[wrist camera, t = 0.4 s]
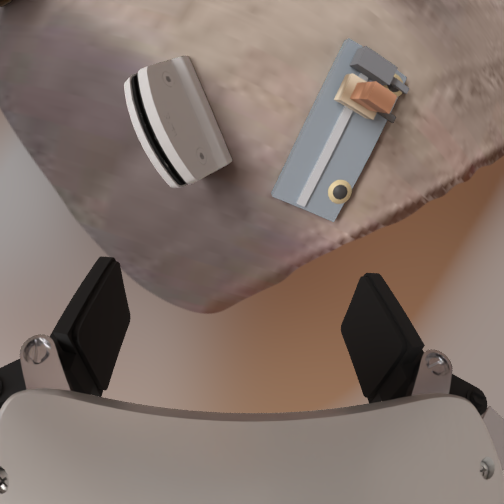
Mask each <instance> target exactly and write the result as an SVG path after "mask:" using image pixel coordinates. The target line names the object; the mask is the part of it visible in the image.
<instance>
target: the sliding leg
mask: <svg viewBox="0 0 504 504" xmlns="http://www.w3.org/2000/svg"><path fill="white" fill-rule="evenodd" d="M396 99H397V96H396V95H395V94H394V93H392V92H391V91H389V90H388V89H387V88H385V87H384V86H382V85H381V84H379V83H378V82H376V81H374V82H366V81H365V80H363V79H361V78H360V77H358V76H357V75H355V74H353V73H352V74H346V75H345V77H344V79H343V81H342V83H341V86H340V88H339V90H338V92H337V94H336V96H335V98H334V100H335V101H337V102H339V103H341V104H342V105H344V106H346V107H348V108H349V109H351V110H353V111H354V112H356V113H358V114H359V115H361V116H363V117H364V118H367V119H372V120H374V117H375V115H376V113H377V114H379V115H380V116H382V117H383V118H385V119H386V120H388V121H389V122H391V123H394V121H395V118H396V117H395V116H394V115H393V114H391V113H390V112H391V109H392V107H393V105H394V103H395V101H396Z"/></svg>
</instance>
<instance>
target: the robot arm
mask: <svg viewBox="0 0 504 504" xmlns="http://www.w3.org/2000/svg"><path fill="white" fill-rule="evenodd" d="M129 322H130V311H129V307H128V303H127V298H126V293H125V289H124V284H123V279H122V274H121V268H120V263H119V262H116V260H115V258H112V257H100V258H99V259H98V260H97V261H96V263H95V264H94V266H93V267H92V269H91V270H90V272H89V273H88V275H87V276H86V278H85V279H84V281H83V282H82V284H81V285H80V287H79V288H78V290H77V291H76V293H75V295H74V296H73V298H72V299H71V301H70V303H69V305H68V306H67V308H66V309H65V311H64V313H63V314H62V316H61V318H60V319H59V321H58V323H57V325H56V326H55V328H54V330H53V332H52V334H51V335H50V337H49V336H46V335H35V336H33V337H31V338H29V339H28V340H27V341H26V342H25V343H24V344H23V346H22V347H21V350H20V359H18V360H16V361H14V362H12V363H10V364H8V365H6V366H4V367H1V368H0V504H504V474H503V469H504V419H503V418H502V417H501V416H500V415H499V414H498V413H497V412H496V411H495V410H494V409H492V408H491V406H489V407H488V408H487V400H486V397H485V395H484V393H483V392H482V391H481V390H480V389H478V388H477V387H475V386H473V385H471V384H470V383H468V382H466V381H464V380H462V379H460V378H459V377H457V376H455V375H453V374H452V364H451V362H450V360H449V359H448V357H447V356H446V355H445V354H443V353H442V352H440V351H437V350H427V351H426V352H423V350H422V349H423V347H424V344H423V342H422V340H421V338H420V337H419V335H418V333H417V332H416V330H415V328H414V327H413V325H412V323H411V321H410V320H409V318H408V317H407V315H406V313H405V312H404V310H403V308H402V307H401V305H400V304H399V302H398V301H397V299H396V298H395V296H394V294H393V293H392V291H391V290H390V288H389V287H388V285H387V284H386V282H385V281H384V279H383V278H382V276H381V275H380V274H377V273H366V274H365V275H364V276H363V277H361V278H360V280H359V282H358V285H357V288H356V290H355V293H354V295H353V298H352V300H351V303H350V305H349V308H348V310H347V313H346V315H345V317H344V320H343V322H342V325H341V332H342V335H343V338H344V341H345V344H346V346H347V349H348V351H349V354H350V357H351V360H352V363H353V366H354V368H355V371H356V374H357V377H358V380H359V383H360V386H361V389H362V392H363V395H364V396H365V397H367V398H368V401H369V404H364V405H357V406H351V407H344V408H335V409H326V410H316V411H305V412H288V413H217V412H201V411H188V410H178V409H168V408H161V407H154V406H147V405H141V404H135V403H129V402H122V401H118V400H112V399H107V398H102V397H101V396H102V392H103V390H107V388H108V385H109V382H110V379H111V375H112V372H113V369H114V366H115V363H116V360H117V357H118V354H119V351H120V348H121V345H122V342H123V339H124V337H125V334H126V331H127V328H128V326H129ZM94 395H95V396H94ZM98 396H99V397H98ZM381 401H382V402H381Z"/></svg>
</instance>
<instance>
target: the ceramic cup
mask: <svg viewBox="0 0 504 504" xmlns="http://www.w3.org/2000/svg"><path fill="white" fill-rule="evenodd" d="M11 1H12V0H0V7H2V6H4V5H6V4H8V3H10V2H11Z"/></svg>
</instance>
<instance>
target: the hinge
mask: <svg viewBox="0 0 504 504" xmlns="http://www.w3.org/2000/svg"><path fill="white" fill-rule="evenodd" d="M124 90H125V97H126V102H127V107H128V111H129V114H130V117H131V121H132V124H133V126H134V129H135V131H136V134H137V136H138V138H139V140H140V142H141V144H142V146H143V148H144V150H145V152H146V154H147V156H148V157H149V159H150V161H151V162H152V164H153V165H154V167H155V168H156V170H157V171H158V172H159V174H160V175H161V176H162V178H163V179H164V180H165V181H166V182H167V184H168V185H169V186H170V187H172V188H181V187H184V186H186V185H188V184H193V183H195V182H197V181H199V180H200V179H202V178H204V177H206V176H208V175H209V174H211V173H213V172H215V171H217V170H218V169H220V168H222V167H224V166H226V165H228V164H229V163H230V162H231V161H232V158H231V156H230V153H229V151H228V148H227V146H226V144H225V141H224V139H223V136H222V134H221V132H220V129H219V127H218V124H217V122H216V120H215V117H214V115H213V112H212V110H211V108H210V105H209V103H208V100H207V98H206V96H205V93H204V91H203V89H202V86H201V84H200V82H199V79H198V77H197V75H196V72H195V70H194V68H193V65H192V63H191V61H190V58H189V56H181V57H177V58H174V59H171V60H167V61H164V62H160V63H156V64H153V65H150V66H147V67H145V68H142V69H140V70H139V72H138V73H136V74H133V75H131V76H130V77H129V79H128V80H127V81H126V82H125V84H124Z"/></svg>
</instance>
